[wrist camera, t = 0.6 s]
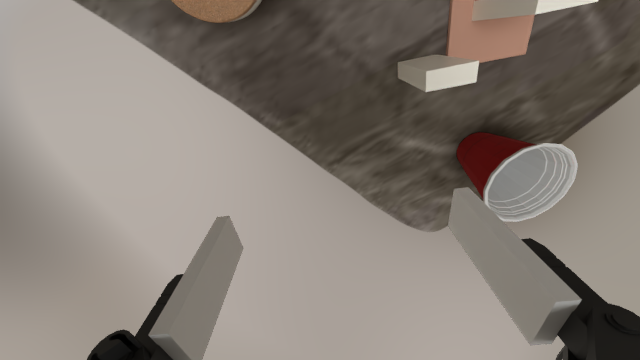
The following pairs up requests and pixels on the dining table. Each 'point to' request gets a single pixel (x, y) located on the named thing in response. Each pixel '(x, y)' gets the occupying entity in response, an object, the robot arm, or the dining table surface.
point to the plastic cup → (517, 173)
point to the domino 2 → (519, 7)
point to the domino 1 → (438, 72)
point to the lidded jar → (218, 9)
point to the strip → (485, 34)
